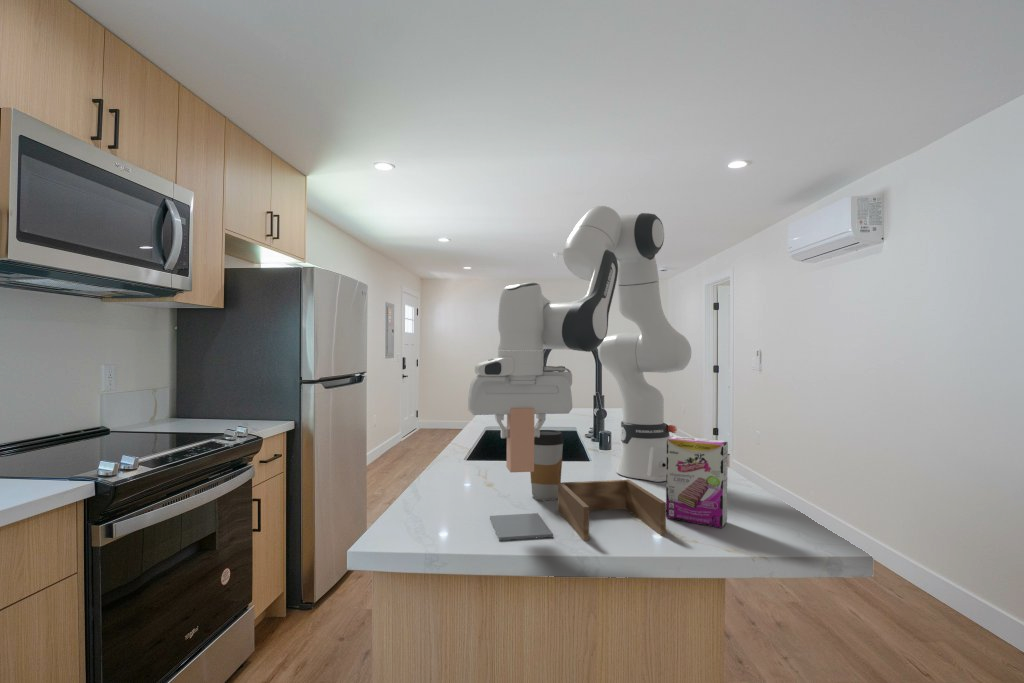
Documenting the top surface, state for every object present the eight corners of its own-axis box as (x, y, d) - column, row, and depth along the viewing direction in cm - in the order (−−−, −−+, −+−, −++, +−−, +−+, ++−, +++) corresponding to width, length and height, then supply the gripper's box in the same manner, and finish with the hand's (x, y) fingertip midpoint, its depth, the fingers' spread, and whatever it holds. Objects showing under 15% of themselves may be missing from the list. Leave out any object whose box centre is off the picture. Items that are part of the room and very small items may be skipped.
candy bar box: (665, 519, 105) (665, 438, 105) (671, 512, 109) (671, 434, 109) (723, 529, 99) (723, 444, 99) (728, 522, 103) (728, 440, 103)
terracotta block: (528, 466, 102) (529, 405, 102) (534, 471, 98) (534, 408, 98) (506, 467, 101) (507, 405, 101) (510, 472, 97) (511, 408, 97)
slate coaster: (537, 516, 106) (537, 513, 106) (553, 537, 95) (553, 533, 95) (489, 518, 104) (489, 515, 104) (499, 540, 93) (499, 537, 93)
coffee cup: (561, 503, 115) (561, 436, 115) (524, 500, 117) (525, 434, 117) (565, 493, 123) (565, 430, 123) (530, 490, 125) (531, 428, 125)
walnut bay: (628, 507, 113) (628, 479, 113) (665, 535, 96) (665, 502, 96) (557, 510, 110) (558, 482, 110) (583, 540, 93) (583, 507, 93)
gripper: (567, 365, 105) (567, 433, 105) (467, 365, 101) (466, 435, 101) (577, 366, 99) (576, 439, 98) (470, 366, 95) (469, 441, 95)
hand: (520, 437), depth 100 cm, fingers closed on terracotta block, 4 cm apart
